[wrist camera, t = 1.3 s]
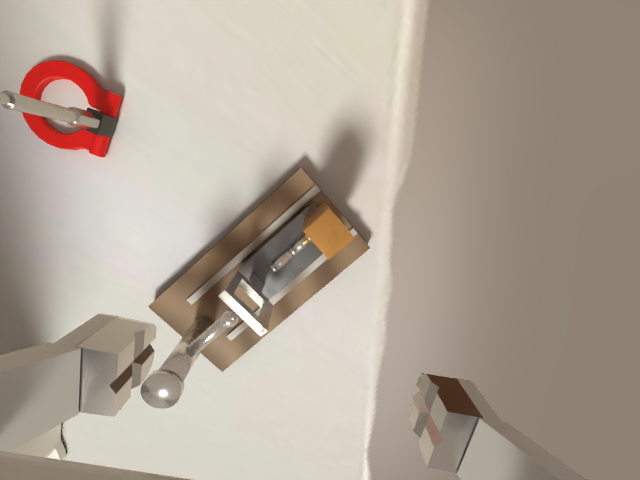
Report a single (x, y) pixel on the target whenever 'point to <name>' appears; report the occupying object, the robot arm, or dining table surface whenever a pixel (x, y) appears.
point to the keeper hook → (183, 360)
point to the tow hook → (91, 121)
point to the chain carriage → (284, 261)
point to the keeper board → (224, 260)
